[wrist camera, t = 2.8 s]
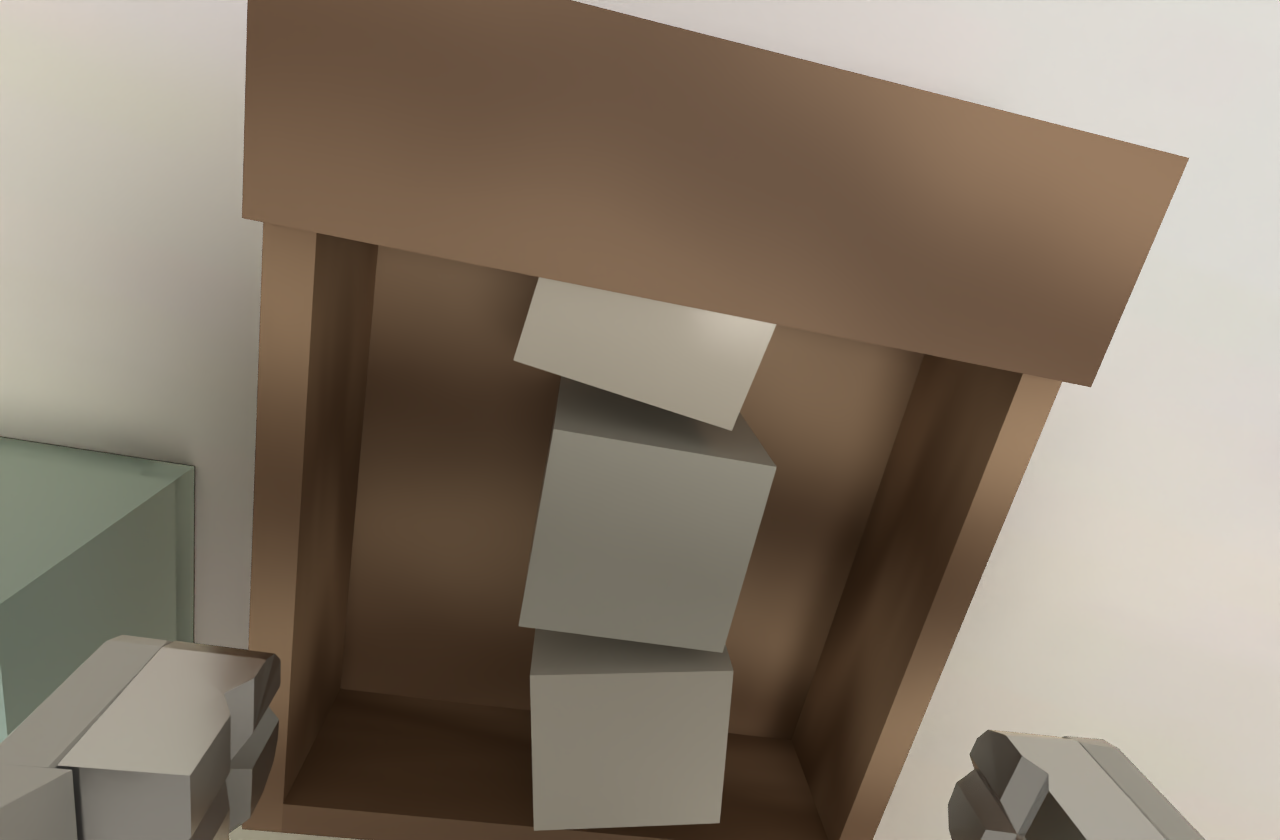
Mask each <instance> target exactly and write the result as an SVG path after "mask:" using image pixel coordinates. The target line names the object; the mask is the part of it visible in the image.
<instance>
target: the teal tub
mask: <svg viewBox="0 0 1280 840" xmlns="http://www.w3.org/2000/svg"><path fill="white" fill-rule="evenodd" d="M193 621H194V466H188V465H181V464H175V463H168V462H161V461H155V460H148V459H142V458H135V457H128V456H122V455H115V454H109V453H102V452H96V451H89V450H82V449H76V448H69V447H63V446H56V445H49V444H43V443H36V442H30V441H23V440H16V439H10V438H3V437H0V743H1V742H2V741H3V740H4V739H5V738H6V737H7V736H8V735H9V734H10V733H11V732H12V731H13V730H15V729H16V728H17V727H18V726H19V725H20V724H21V723H22V722H23V721H24V720H25V719H26V718H27V717H28V716H29V715H30V714H31V713H32V712H33V711H34V710H35V709H36V708H37V707H38V706H39V705H40V704H41V703H42V702H43V701H44V700H45V699H46V698H47V697H49V696H50V695H51V694H52V693H53V692H54V691H55V690H56V689H57V688H58V687H59V686H60V685H61V684H62V683H63V682H64V681H65V680H66V679H67V678H68V677H69V676H70V675H71V674H72V673H73V672H74V671H75V670H76V669H77V668H78V667H79V666H80V665H81V664H83V663H84V662H85V661H86V660H87V659H88V658H89V657H90V656H91V655H92V654H93V653H94V652H95V651H96V650H97V649H98V648H99V647H100V646H101V645H102V644H103V643H105V642H106V641H107V640H110V639H112V638H115V637H117V636H120V635H129V636H136V637H144V638H152V639H160V640H167V641H172V642H174V641H182V642H190V643H193Z"/></svg>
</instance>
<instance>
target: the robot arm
mask: <svg viewBox="0 0 1280 840" xmlns="http://www.w3.org/2000/svg"><path fill="white" fill-rule="evenodd" d="M280 686H281V659H280V658H279V657H278V656H277V655H276V654H275V653H267V652H259V651H252V650H244V649H236V648H229V647H221V646H213V645H205V644H198V643H190V642H182V641H174V642H172V641H167V640H160V639H152V638H144V637H136V636H129V635H120V636H117V637H115V638H112V639H110V640H107V641H106V642H105V643H103V644H102V645H101V646H100V647H99V648H98V649H97V650H96V651H95V652H94V653H93V654H92V655H91V656H90V657H89V658H88V659H87V660H86V661H85V662H84V663H83V664H81V665H80V666H79V667H78V668H77V669H76V670H75V671H74V672H73V673H72V674H71V675H70V676H69V677H68V678H67V679H66V680H65V681H64V682H63V683H62V684H61V685H60V686H59V687H58V688H57V689H56V690H55V691H54V692H53V693H52V694H51V695H50V696H49V697H47V698H46V699H45V700H44V701H43V702H42V703H41V704H40V705H39V706H38V707H37V708H36V709H35V710H34V711H33V712H32V713H31V714H30V715H29V716H28V717H27V718H26V719H25V720H24V721H23V722H22V723H21V724H20V725H19V726H18V727H17V728H16V729H15V730H13V731H12V732H11V733H10V734H9V735H8V736H7V737H6V738H5V739H4V740H3V741H2V742H1V743H0V840H229V833H230V832H231V831H233V830H234V829H236V828H237V827H238V826H240V825H241V824H243V823H244V822H245V821H247V820H248V819H250V818H251V816H252V814H253V812H254V810H255V808H256V806H257V803H258V801H259V799H260V797H261V795H262V793H263V791H264V788H265V785H266V782H267V779H268V776H269V774H270V771H271V768H272V765H273V762H274V757H275V752H276V746H277V741H278V730H279V719H278V717H277V716H276V715H275V714H274V712H273V711H272V710H271V709H270V707H269V705H270V703H271V701H272V699H273V698H274V696H275V694H276V692H277V691H278V689H279V687H280ZM970 757H971V760H972V763H973V766H974V770H973V771H972V772H970V773H969V774H968V775H966V776H965V777H964V778H962V779H961V780H960V781H958V782H957V783H956V786H955V788H954V791H953V793H952V796H951V798H950V801H949V804H948V817H949V831H950V835H951V838H952V840H1205V839H1204V838H1203V837H1202V836H1201V835H1200V834H1199V832H1198V831H1197V830H1196V829H1195V828H1194V827H1193V826H1192V825H1191V824H1190V823H1189V822H1188V821H1187V820H1186V819H1185V818H1184V817H1183V816H1182V815H1181V814H1180V813H1179V811H1178V810H1177V809H1176V808H1175V807H1174V806H1173V805H1172V804H1171V803H1170V802H1169V801H1168V800H1167V799H1166V798H1165V797H1164V796H1163V795H1162V794H1161V793H1160V792H1159V790H1158V789H1157V788H1156V787H1155V786H1154V785H1153V784H1152V783H1151V782H1150V781H1149V780H1148V779H1147V778H1146V777H1145V776H1144V775H1143V774H1142V773H1141V772H1140V771H1139V769H1138V768H1137V767H1136V766H1135V765H1134V764H1133V763H1132V762H1131V761H1130V760H1129V759H1128V758H1127V757H1126V756H1125V755H1124V754H1123V753H1122V752H1121V751H1120V750H1119V749H1118V748H1117V747H1115V746H1113V745H1111V744H1110V743H1108V742H1106V741H1104V740H1103V739H1091V738H1079V737H1067V736H1064V737H1057V736H1048V735H1037V734H1027V733H1017V732H1007V731H997V730H987V731H986V732H985V733H984V734H982V735H981V736H980V737H978V738H977V740H976V742H975V744H974V746H973V748H972V750H971V753H970Z"/></svg>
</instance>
